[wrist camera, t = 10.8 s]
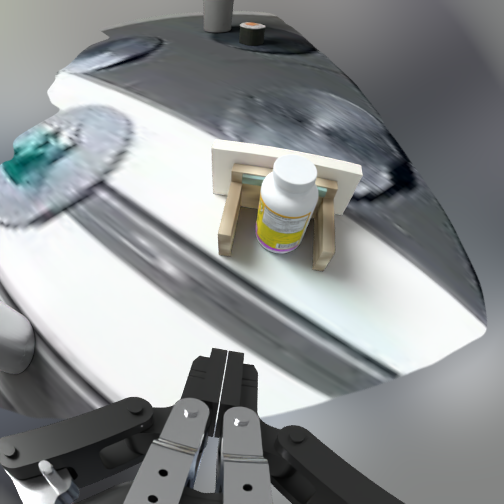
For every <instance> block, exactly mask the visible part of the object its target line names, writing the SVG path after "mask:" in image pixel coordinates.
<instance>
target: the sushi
mask: <svg viewBox="0 0 504 504" xmlns="http://www.w3.org/2000/svg"><path fill="white" fill-rule="evenodd" d="M264 32H265V25H262V24H258V23H249V22H248V23H247V22H246V23H242V24H240V37H239V42H240V43H242V44H245V45H250V46H256V45H261V44H263V41H264Z"/></svg>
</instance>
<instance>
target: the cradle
mask: <svg viewBox="0 0 504 504" xmlns="http://www.w3.org/2000/svg"><path fill="white" fill-rule="evenodd" d="M272 171H273V169H269V168H263V167H256V166H249V165H243V164H235V163H234V164H233V167H232V172H231V184H230V188H229V192H228V196H227V199H226V203H225V207H224V211H223V215H222V219H221V223H220V227H219V231H218V248H219V255H224V256H230V254H231V249H232V245H233V240H234V235H235V230H236V226H237V221H238V216H239V212H240V207H241V206H242V207H248V208H255V209H258V206H259V199H260V192H261V186H262V183H263V180H264V179H265V177H266V176H267V175H268V174H270V173H271V172H272ZM315 184H316V186H317V188H318V195H319V196H318V201H317V204H316V206H315V209H314V211H313V214H312V216H311V218H313V219H314V241H313V267H312V270H318V271H324V269H325V268H326V266H327V265H328V263H329V261H330V260H331V258H332V257H333V255H334V254H335V225H334V197H335V195H336V193H337V190H338V184H337V181H333V180H328V179H323V178H318V177H317V178H316V181H315Z"/></svg>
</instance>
